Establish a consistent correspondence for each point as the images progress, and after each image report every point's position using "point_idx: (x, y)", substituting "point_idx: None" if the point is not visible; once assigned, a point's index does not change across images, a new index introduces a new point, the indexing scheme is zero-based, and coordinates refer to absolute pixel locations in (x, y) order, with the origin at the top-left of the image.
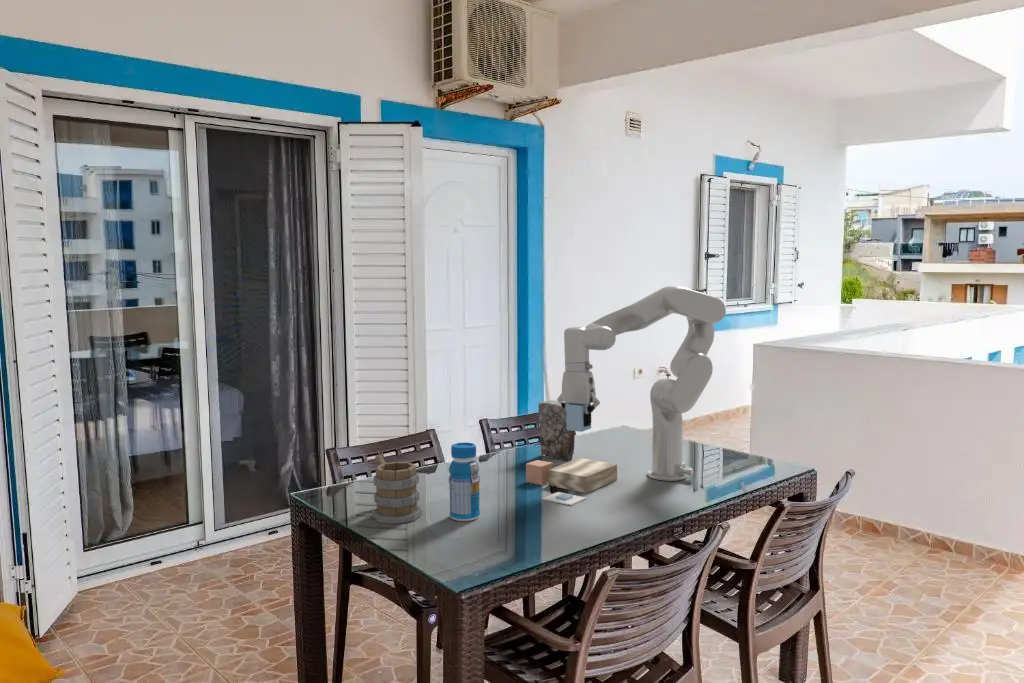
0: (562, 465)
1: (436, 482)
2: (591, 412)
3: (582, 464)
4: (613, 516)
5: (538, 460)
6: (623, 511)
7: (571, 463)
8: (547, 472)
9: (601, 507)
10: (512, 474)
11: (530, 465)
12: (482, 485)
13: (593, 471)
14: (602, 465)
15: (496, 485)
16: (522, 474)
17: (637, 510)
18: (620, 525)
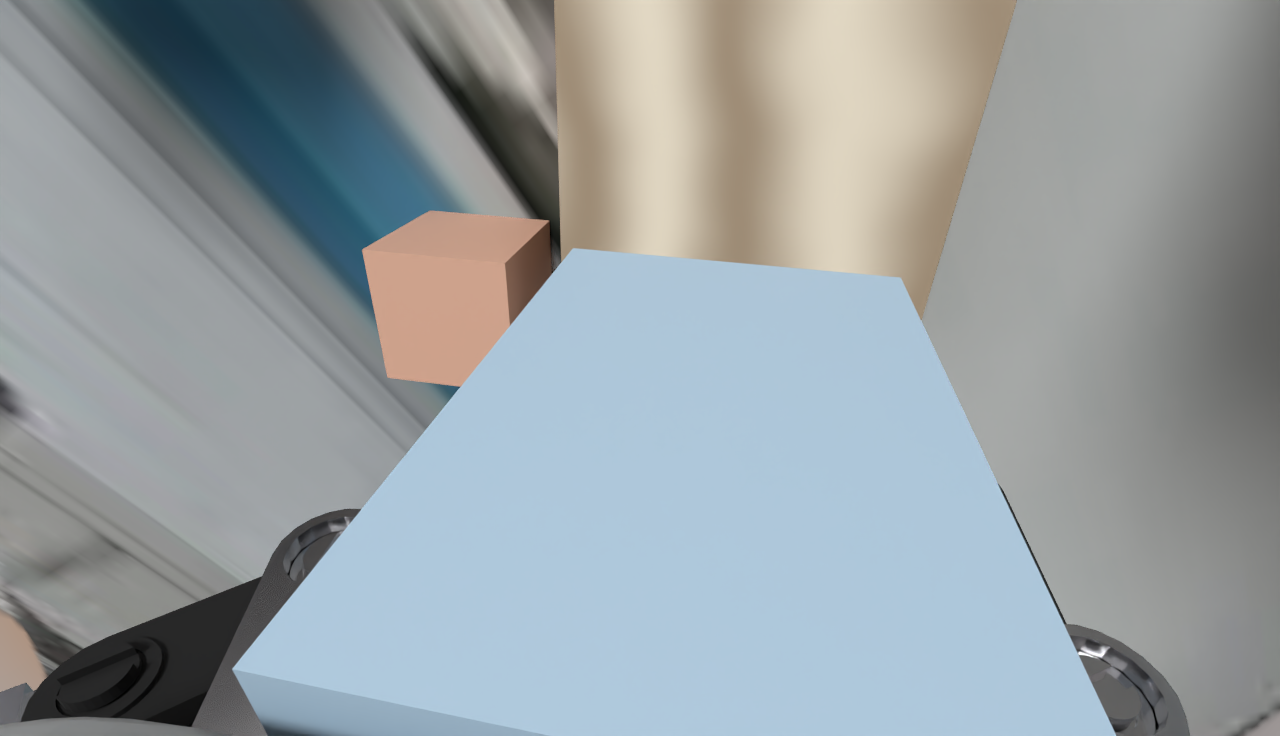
0: (577, 220)
1: (172, 500)
2: (1103, 675)
3: (705, 90)
4: (1137, 603)
5: (380, 257)
6: (1185, 534)
7: (602, 115)
8: (529, 300)
9: (1041, 523)
10: (267, 223)
11: (427, 378)
12: (335, 461)
13: (895, 259)
14: (907, 9)
15: (380, 436)
16: (306, 189)
17: (1276, 497)
18: (1193, 676)
